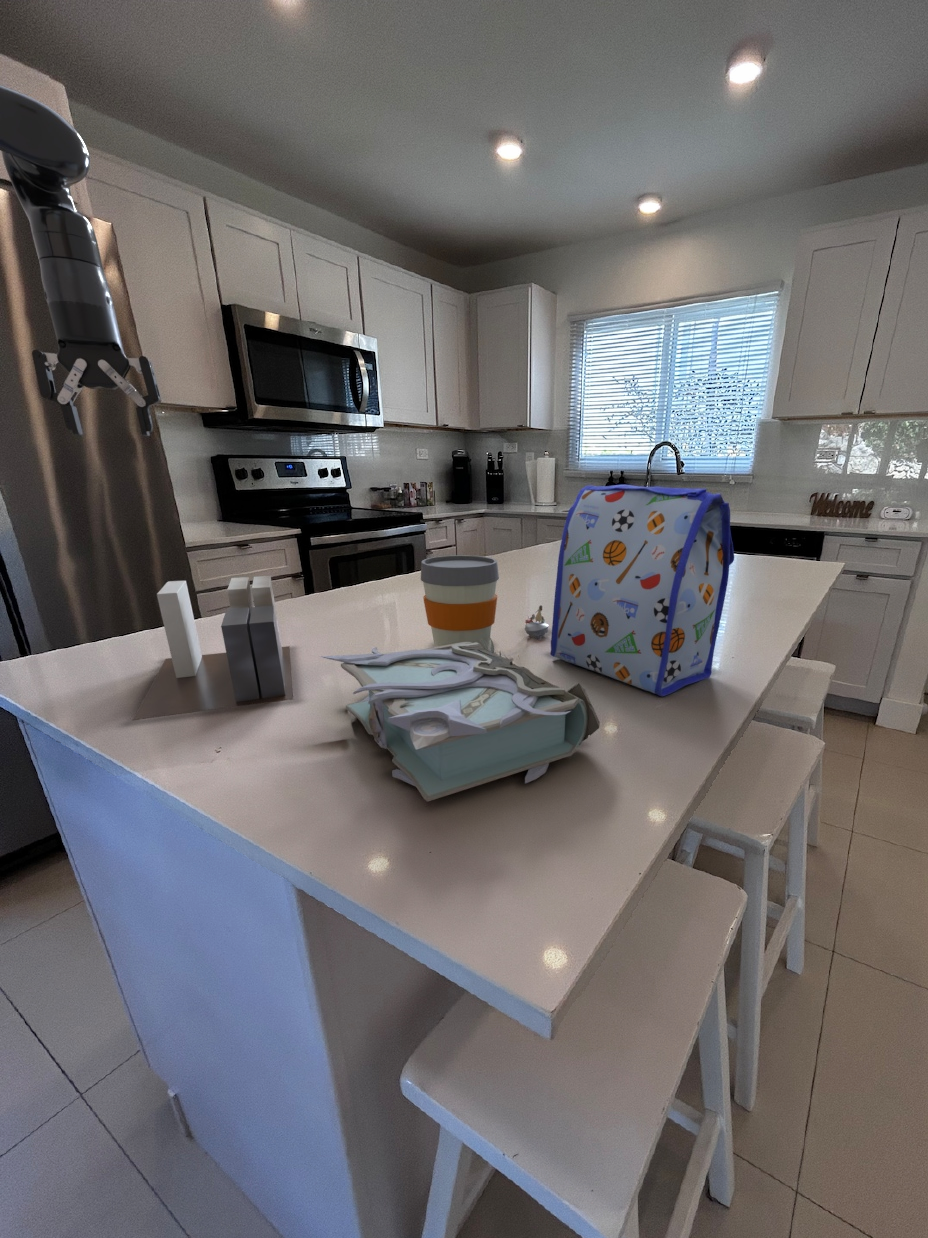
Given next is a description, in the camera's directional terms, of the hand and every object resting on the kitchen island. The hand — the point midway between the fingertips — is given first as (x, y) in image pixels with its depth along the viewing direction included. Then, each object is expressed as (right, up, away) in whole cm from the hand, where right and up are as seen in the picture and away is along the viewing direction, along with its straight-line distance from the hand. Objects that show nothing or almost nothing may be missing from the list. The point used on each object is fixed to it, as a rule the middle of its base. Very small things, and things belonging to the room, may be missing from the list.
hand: (112, 435), depth 83 cm
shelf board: (+18, -37, -3) cm, 41 cm away
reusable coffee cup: (+51, -31, +12) cm, 61 cm away
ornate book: (+52, -43, -17) cm, 70 cm away
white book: (+11, -34, 0) cm, 36 cm away
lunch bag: (+78, -34, +5) cm, 85 cm away
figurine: (+63, -28, +20) cm, 72 cm away
